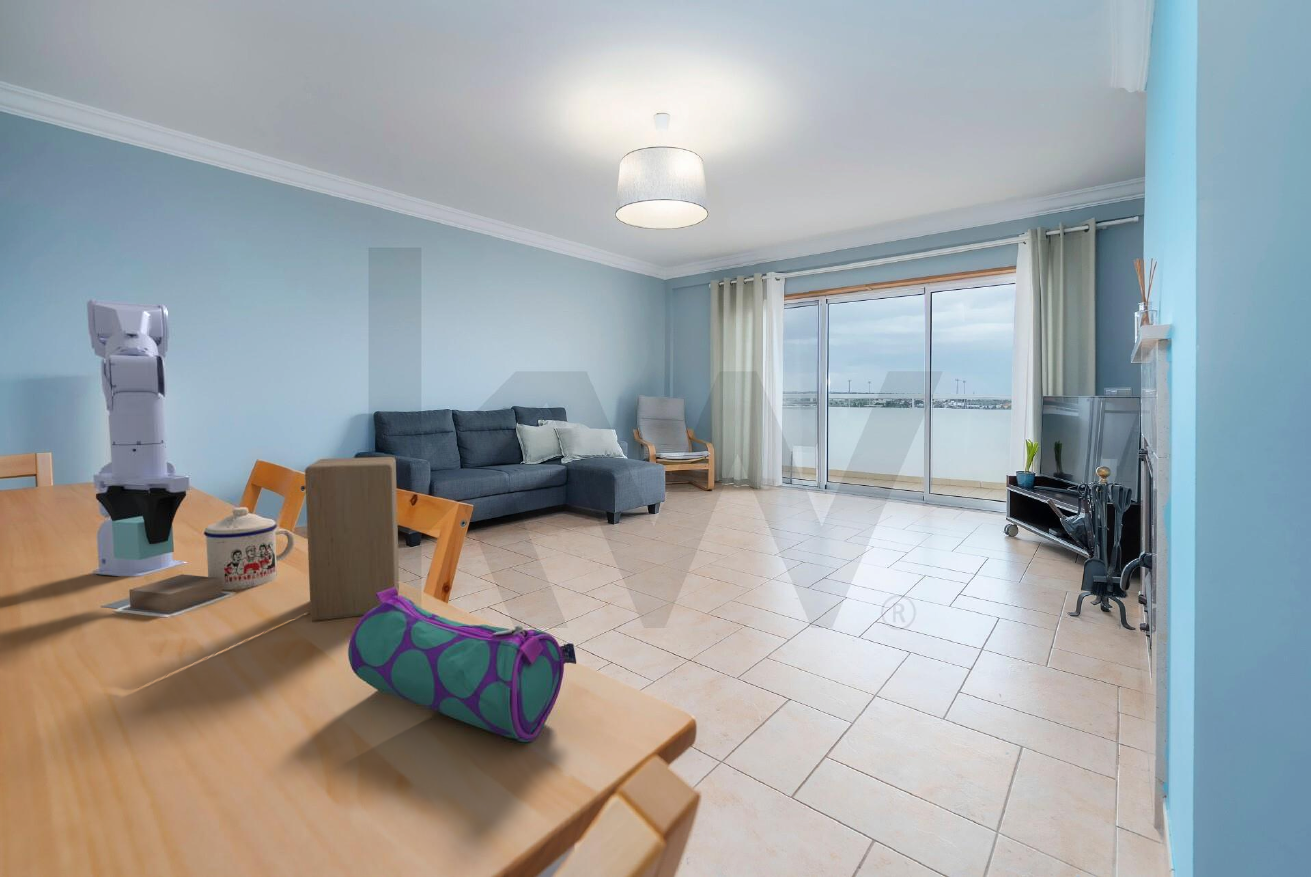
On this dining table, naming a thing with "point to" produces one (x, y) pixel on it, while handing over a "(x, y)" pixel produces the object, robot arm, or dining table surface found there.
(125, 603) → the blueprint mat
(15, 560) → the dining table surface
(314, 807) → the dining table surface
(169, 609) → the walnut base
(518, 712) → the pencil case
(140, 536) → the teal cube
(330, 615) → the wooden block
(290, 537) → the teacup with lid
